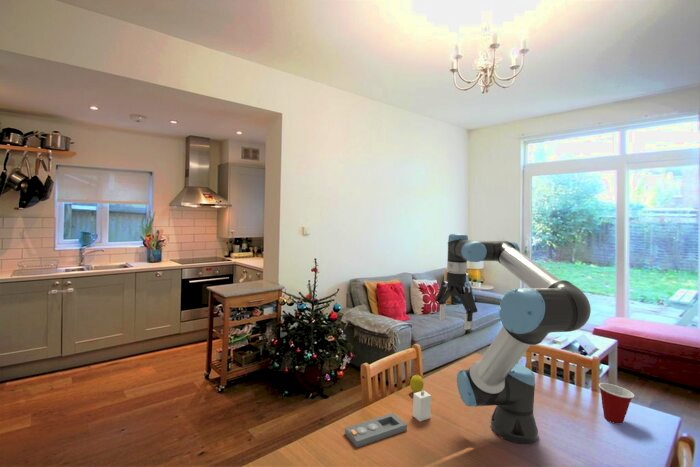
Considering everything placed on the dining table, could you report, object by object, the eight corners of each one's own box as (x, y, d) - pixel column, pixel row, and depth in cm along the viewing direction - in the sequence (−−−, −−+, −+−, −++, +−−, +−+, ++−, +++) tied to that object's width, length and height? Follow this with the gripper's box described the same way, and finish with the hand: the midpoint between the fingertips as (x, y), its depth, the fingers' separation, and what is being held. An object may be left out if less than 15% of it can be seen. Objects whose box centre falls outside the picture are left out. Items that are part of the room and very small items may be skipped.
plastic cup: (640, 428, 127) (642, 396, 127) (612, 428, 126) (614, 396, 126) (615, 411, 138) (617, 381, 137) (589, 411, 137) (591, 382, 137)
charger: (430, 419, 128) (431, 392, 128) (419, 422, 126) (420, 395, 125) (423, 413, 132) (424, 387, 131) (412, 417, 129) (413, 390, 129)
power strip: (406, 433, 121) (407, 422, 120) (356, 450, 111) (357, 439, 111) (393, 420, 128) (393, 411, 127) (344, 436, 118) (345, 425, 118)
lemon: (413, 397, 145) (414, 378, 144) (407, 390, 150) (408, 372, 150) (425, 395, 146) (426, 377, 146) (419, 389, 152) (420, 371, 151)
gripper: (428, 268, 149) (426, 317, 150) (474, 277, 128) (472, 335, 129) (441, 267, 153) (439, 315, 154) (488, 276, 131) (486, 332, 132)
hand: (454, 324), depth 141 cm, fingers open, 13 cm apart
